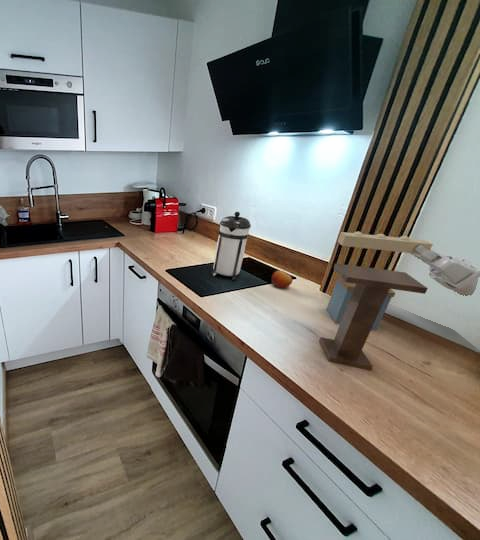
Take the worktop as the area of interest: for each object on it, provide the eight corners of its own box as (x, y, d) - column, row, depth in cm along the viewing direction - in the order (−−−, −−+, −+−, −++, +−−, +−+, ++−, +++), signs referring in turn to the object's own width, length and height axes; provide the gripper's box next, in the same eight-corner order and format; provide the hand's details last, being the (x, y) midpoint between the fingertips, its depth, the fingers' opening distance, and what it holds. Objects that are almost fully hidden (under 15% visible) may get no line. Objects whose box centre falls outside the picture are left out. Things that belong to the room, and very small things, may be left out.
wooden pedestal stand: (368, 351, 86) (405, 272, 75) (383, 373, 77) (428, 288, 67) (308, 338, 91) (335, 263, 80) (316, 358, 82) (347, 276, 72)
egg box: (419, 250, 89) (425, 236, 88) (427, 255, 86) (434, 240, 84) (337, 241, 96) (341, 228, 94) (341, 245, 92) (346, 232, 90)
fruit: (263, 278, 129) (276, 265, 126) (277, 287, 130) (290, 274, 127) (269, 286, 122) (284, 272, 118) (283, 295, 123) (298, 282, 119)
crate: (364, 315, 105) (380, 279, 99) (377, 331, 95) (395, 293, 90) (325, 308, 108) (337, 274, 103) (333, 323, 99) (348, 286, 93)
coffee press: (250, 280, 130) (266, 215, 118) (218, 282, 127) (230, 215, 115) (231, 265, 146) (243, 207, 134) (201, 267, 143) (211, 207, 131)
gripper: (440, 252, 94) (404, 228, 95) (488, 276, 77) (443, 246, 77) (420, 266, 97) (386, 242, 98) (462, 292, 80) (419, 262, 81)
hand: (411, 244), depth 88 cm, fingers closed on egg box, 4 cm apart
